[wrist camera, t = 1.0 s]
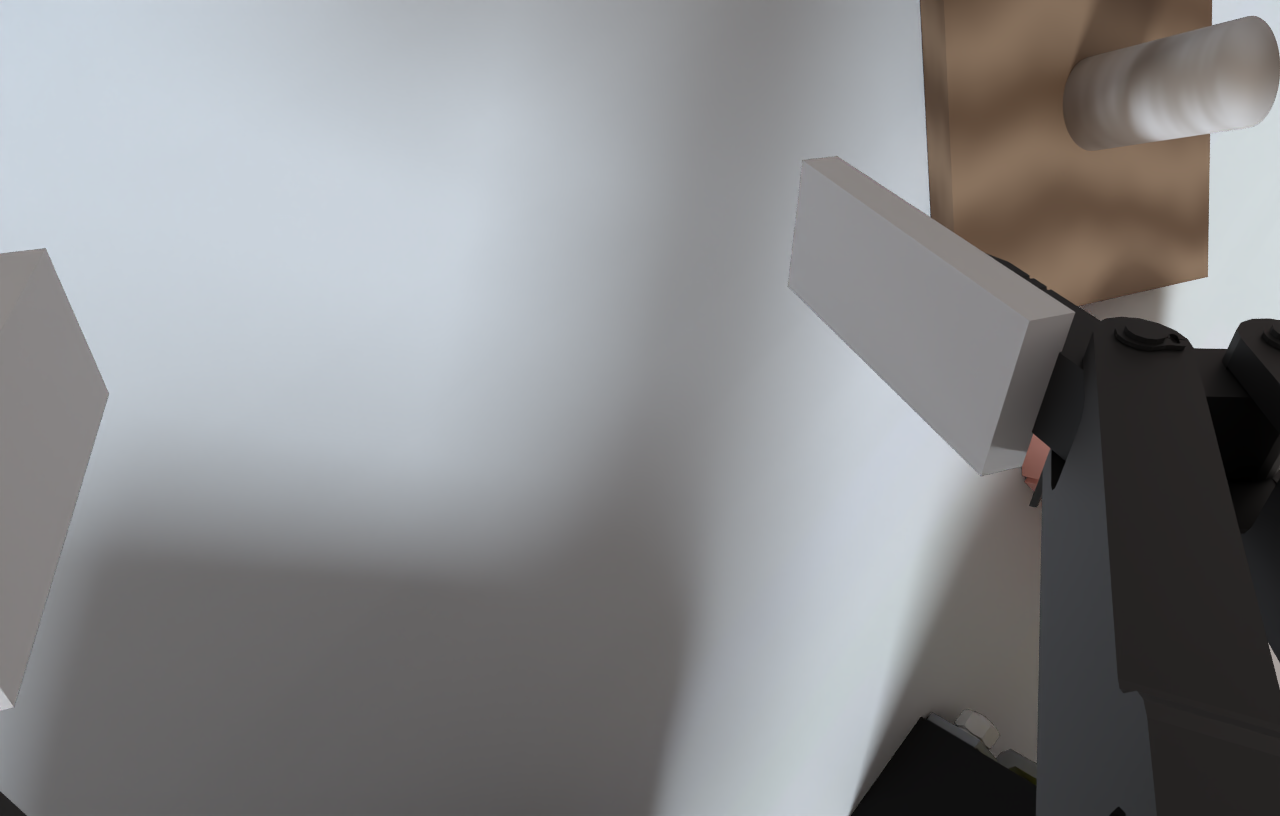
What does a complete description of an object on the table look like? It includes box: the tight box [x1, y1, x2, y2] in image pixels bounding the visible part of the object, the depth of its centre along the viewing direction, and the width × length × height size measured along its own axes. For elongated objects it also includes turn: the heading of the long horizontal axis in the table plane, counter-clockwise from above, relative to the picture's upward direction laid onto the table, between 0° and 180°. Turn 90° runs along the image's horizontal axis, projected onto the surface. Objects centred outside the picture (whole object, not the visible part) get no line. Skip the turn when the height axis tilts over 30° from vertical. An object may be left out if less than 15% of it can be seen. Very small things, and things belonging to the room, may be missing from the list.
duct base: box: [920, 0, 1280, 306], centre depth 44 cm, size 22×22×10 cm
